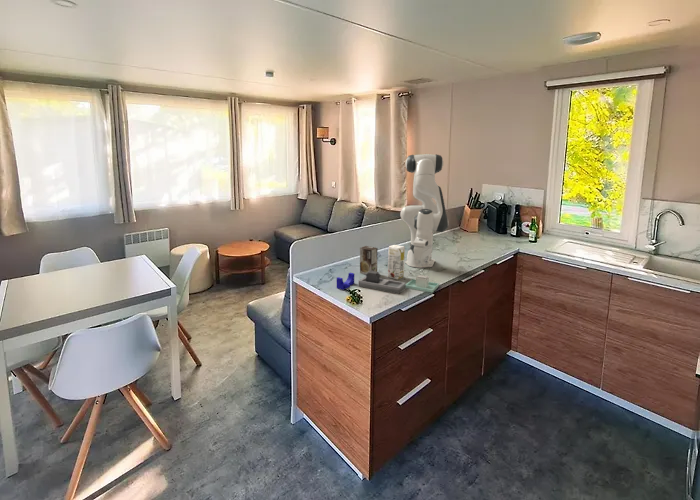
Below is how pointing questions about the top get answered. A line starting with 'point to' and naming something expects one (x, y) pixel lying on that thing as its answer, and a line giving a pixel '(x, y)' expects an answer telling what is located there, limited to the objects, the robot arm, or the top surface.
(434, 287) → the tray
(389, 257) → the juice carton
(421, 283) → the plug
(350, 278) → the cable clip
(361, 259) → the coffee box
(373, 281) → the grey compartment holder
